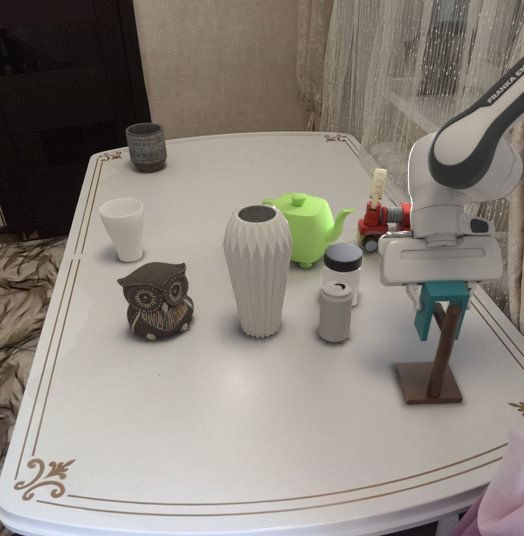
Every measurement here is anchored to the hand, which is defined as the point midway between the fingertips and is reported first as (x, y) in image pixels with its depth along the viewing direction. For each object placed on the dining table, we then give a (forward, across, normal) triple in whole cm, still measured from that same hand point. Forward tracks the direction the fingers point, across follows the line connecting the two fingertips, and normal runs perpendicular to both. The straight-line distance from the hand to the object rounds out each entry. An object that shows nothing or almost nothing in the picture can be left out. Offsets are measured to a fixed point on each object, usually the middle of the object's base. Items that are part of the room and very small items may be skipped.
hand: (442, 310), depth 92 cm
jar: (-8, -12, +32) cm, 35 cm away
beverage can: (+1, -15, +22) cm, 27 cm away
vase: (-1, -31, +25) cm, 40 cm away
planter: (-64, -65, +88) cm, 127 cm away
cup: (-23, -63, +47) cm, 82 cm away
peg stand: (+12, 0, +11) cm, 17 cm away
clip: (+3, 0, +4) cm, 5 cm away
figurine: (-3, -52, +27) cm, 59 cm away
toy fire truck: (-25, +3, +49) cm, 55 cm away
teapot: (-20, -20, +44) cm, 52 cm away
